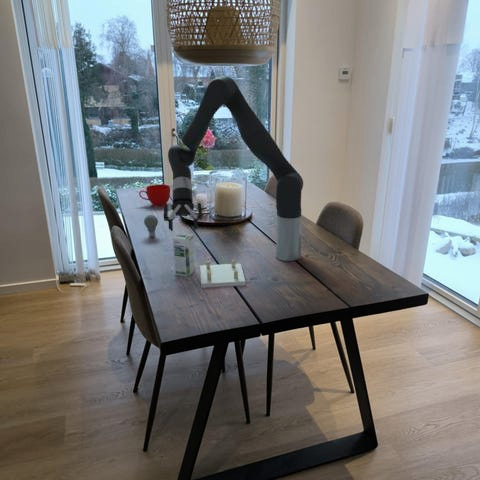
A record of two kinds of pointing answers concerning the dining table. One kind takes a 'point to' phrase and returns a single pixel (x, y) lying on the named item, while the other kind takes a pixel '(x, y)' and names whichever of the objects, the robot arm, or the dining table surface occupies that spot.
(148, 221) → the light bulb
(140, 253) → the dining table surface
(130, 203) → the dining table surface
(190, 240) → the syrup box
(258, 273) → the dining table surface
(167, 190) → the ceramic cup
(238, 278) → the pin plate
